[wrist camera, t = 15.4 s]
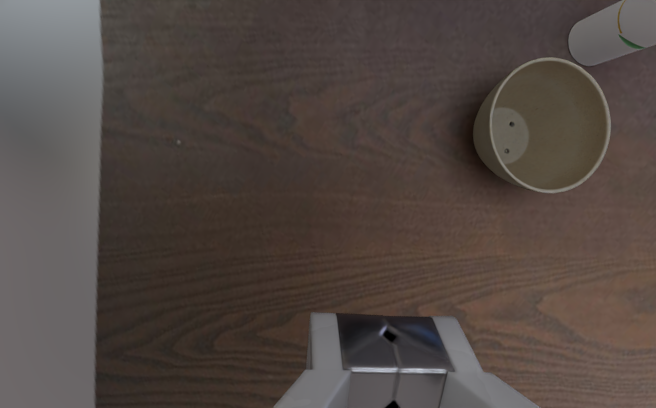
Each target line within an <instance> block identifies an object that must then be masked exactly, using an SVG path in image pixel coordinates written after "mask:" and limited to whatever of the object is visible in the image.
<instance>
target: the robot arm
mask: <svg viewBox="0 0 656 408" xmlns="http://www.w3.org/2000/svg"><path fill="white" fill-rule="evenodd" d="M273 408H540V407H539V406H537V405H536V404H534V403H533V402H532V401H530V400H529V399H527V398H526V397H525V396H523V395H522V394H520V393H519V392H518V391H516V390H515V389H513V388H512V387H511V386H509V385H508V384H506V383H505V382H504V381H502V380H501V379H499V378H498V377H497V376H495V375H494V374H492V373H486V372H483V370H482V368H481V366H480V364H479V362H478V360H477V358H476V356H475V354H474V352H473V350H472V348H471V346H470V344H469V342H468V340H467V338H466V336H465V334H464V332H463V331H462V329H461V327H460V325H459V323H458V321H457V319H456V318H455V317H453V316H429V317H412V316H383V315H364V314H343V313H336V314H335V313H314V312H311V315H310V323H309V336H308V349H307V366H306V370H304V372H303V373H302V374H301V375H300V376H299V377H298V379H297V380H296V381H295V382H294V383H293V385H292V386H291V387H290V388H289V389H288V390H287V392H286V393H285V394H284V395H283V396H282V397H281V399H280V400H279V401H278V402H277V403H276V404H275V406H274V407H273Z"/></svg>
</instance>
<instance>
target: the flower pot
mask: <svg viewBox="0 0 656 408" xmlns="http://www.w3.org/2000/svg"><path fill="white" fill-rule="evenodd" d="M510 122H511V125H510ZM610 131H611V122H610V113H609V108H608V105H607V102H606V99H605V96H604V94H603V92H602V90H601V88H600V87H599V85H598V84H597V82H596V81H595V80H594V79H593V77H592V76H591V75H590V74H589V73H587V72H586V71H585V70H584V69H583V68H581V67H580V66H578V65H576V64H574V63H572V62H570V61H567V60H564V59H559V58H551V57H547V58H539V59H535V60H532V61H529V62H527V63H525V64H523V65H521V66H520V67H518V68H517V69H515V70H514V71H512V72H511V73H510V74H508V75H507V76H506V77H505V78H503V79H502V80H501V81H500V82H499V83H498V84H497V85H496V86H495V87H494V88H493V89H492V91H491V92H490V93H489V94H488V96H487V97H486V99H485V100H484V102H483V103H482V105H481V107H480V109H479V111H478V114H477V116H476V119H475V123H474V128H473V141H474V146H475V148H476V151H477V153H478V155H479V157H480V159H481V160H482V161H483V163H484V164H485V165H486V166H487V167H488V168H489V169H490V170H491V171H492V172H493V173H495V174H496V175H497V176H499V177H500V178H502V179H504V180H506V181H507V182H509V183H511V184H514V185H516V186H519V187H522V188H524V189H528V190H532V191H536V192H543V193H558V192H563V191H567V190H570V189H572V188H575V187H577V186H579V185H580V184H582V183H583V182H584V181H585V180H587V179H588V178H589V177H590V176H591V175H592V174H593V173H594V172H595V171H596V169H597V168H598V166H599V165H600V163H601V161H602V159H603V157H604V155H605V153H606V150H607V147H608V143H609V138H610ZM507 149H508V150H509V152H507Z"/></svg>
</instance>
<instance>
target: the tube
mask: <svg viewBox="0 0 656 408" xmlns="http://www.w3.org/2000/svg"><path fill="white" fill-rule="evenodd" d="M655 44H656V0H622V1H619V2H617V3H615V4H613V5H611V6H609V7H607V8H605V9H603V10H601V11H599V12H597V13H595V14H593V15H591V16H589V17H587V18H585V19H583V20H581V21H579V22H577V23H576V24H575V25H574V26H573V28H572V29H571V31H570V34H569V38H568V45H569V50H570V53H571V55H572V56H573V58H574V59H575V60H576V61H577V62H578V63H580V64H582V65H585V66H594V65H597V64H600V63H603V62H606V61H609V60H612V59H615V58H617V57H620V56H623V55H626V54H629V53H632V52H635V51H638V50H641V49H644V48H646V47H650V46H653V45H655Z"/></svg>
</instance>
